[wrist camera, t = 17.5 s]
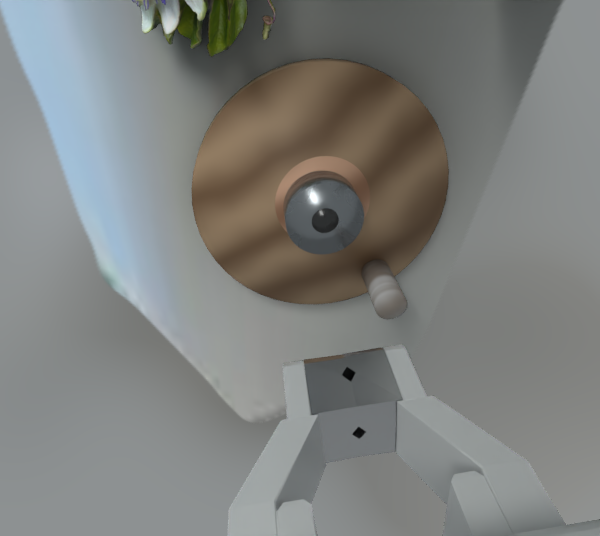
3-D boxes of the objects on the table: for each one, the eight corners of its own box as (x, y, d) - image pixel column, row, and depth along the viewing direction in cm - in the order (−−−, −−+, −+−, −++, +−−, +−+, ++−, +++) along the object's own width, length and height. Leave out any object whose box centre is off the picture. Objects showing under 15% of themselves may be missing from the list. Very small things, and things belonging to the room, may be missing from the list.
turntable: (138, 174, 38) (114, 212, 31) (360, -12, 32) (390, -13, 25) (293, 326, 50) (300, 377, 43) (477, 212, 44) (518, 251, 37)
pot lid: (267, 200, 39) (269, 215, 36) (331, 154, 37) (337, 167, 34) (310, 251, 42) (314, 267, 40) (370, 211, 40) (378, 226, 38)
